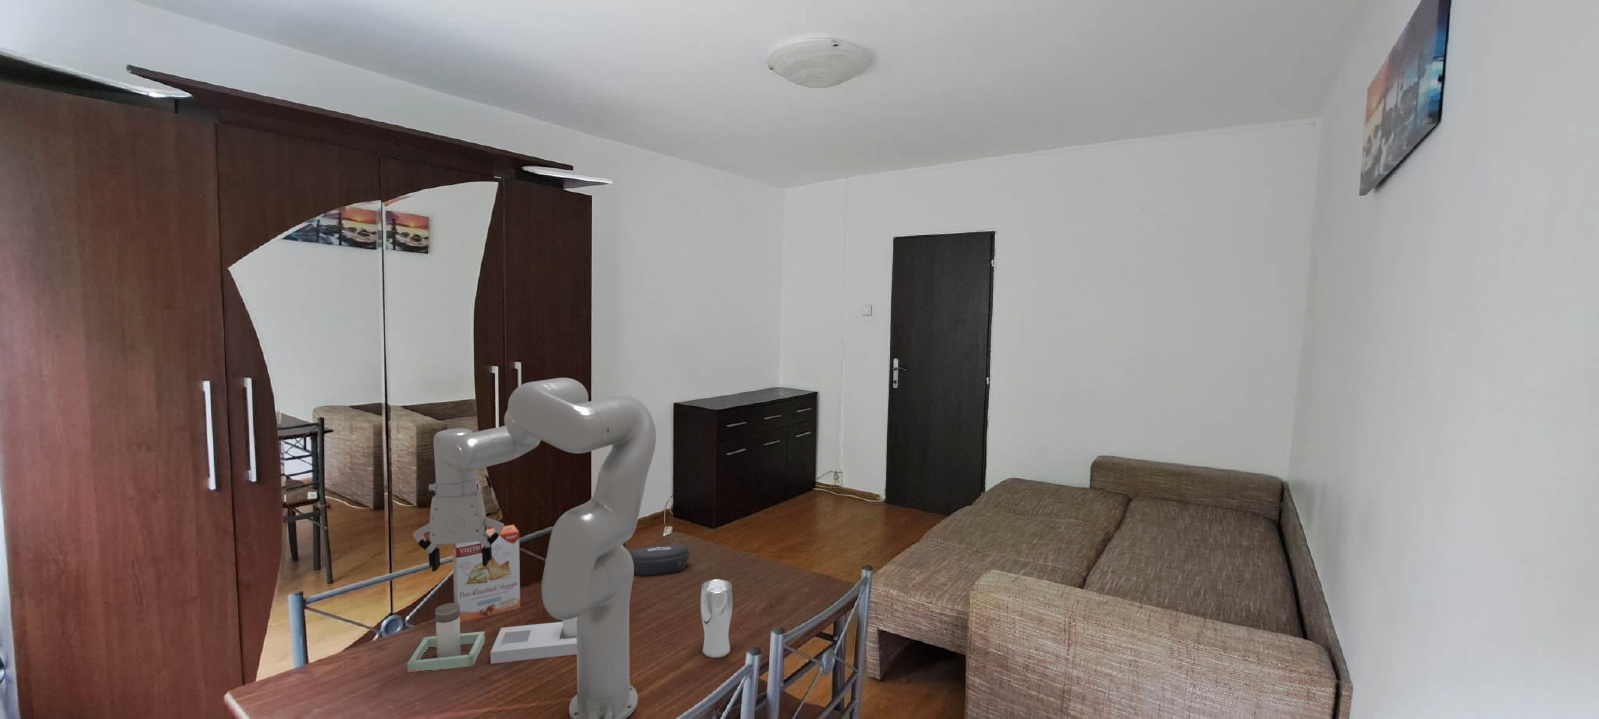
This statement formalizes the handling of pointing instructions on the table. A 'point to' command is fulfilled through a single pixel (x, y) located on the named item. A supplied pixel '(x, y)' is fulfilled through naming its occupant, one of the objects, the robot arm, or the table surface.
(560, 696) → the table surface
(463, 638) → the green square frame
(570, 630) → the fuse
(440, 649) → the cylinder
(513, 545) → the cracker box
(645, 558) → the glasses case
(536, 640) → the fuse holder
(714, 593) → the beer glass
